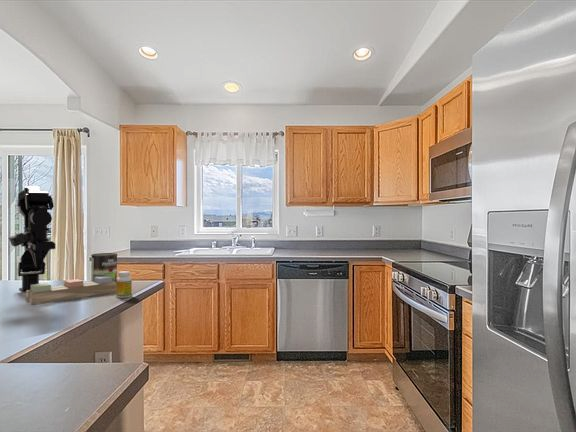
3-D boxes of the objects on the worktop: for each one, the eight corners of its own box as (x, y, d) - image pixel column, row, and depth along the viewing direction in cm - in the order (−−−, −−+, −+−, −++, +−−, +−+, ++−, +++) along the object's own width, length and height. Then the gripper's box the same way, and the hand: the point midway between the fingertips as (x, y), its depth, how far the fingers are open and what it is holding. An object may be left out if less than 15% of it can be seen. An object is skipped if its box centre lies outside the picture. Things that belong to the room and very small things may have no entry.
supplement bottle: (125, 298, 138) (125, 273, 138) (113, 297, 139) (113, 272, 139) (134, 295, 143) (134, 271, 143) (122, 294, 144) (122, 270, 144)
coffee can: (121, 285, 161) (122, 254, 161) (99, 289, 152) (99, 256, 152) (108, 282, 167) (108, 252, 166) (85, 286, 158) (86, 254, 158)
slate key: (94, 286, 148) (94, 277, 148) (106, 285, 152) (106, 275, 152) (99, 288, 145) (99, 278, 145) (112, 286, 149) (112, 277, 149)
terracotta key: (64, 291, 140) (64, 280, 140) (78, 289, 144) (78, 279, 144) (69, 293, 137) (69, 282, 137) (83, 291, 140) (83, 280, 140)
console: (25, 301, 131) (26, 290, 131) (108, 288, 154) (108, 279, 154) (32, 304, 127) (32, 293, 127) (115, 291, 149) (116, 282, 149)
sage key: (30, 295, 131) (30, 284, 131) (46, 293, 135) (46, 282, 135) (34, 298, 128) (34, 286, 128) (50, 295, 132) (51, 284, 132)
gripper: (4, 224, 134) (4, 266, 134) (18, 226, 122) (18, 272, 122) (39, 224, 142) (39, 263, 143) (56, 226, 130) (55, 269, 131)
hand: (37, 267), depth 134 cm, fingers closed
